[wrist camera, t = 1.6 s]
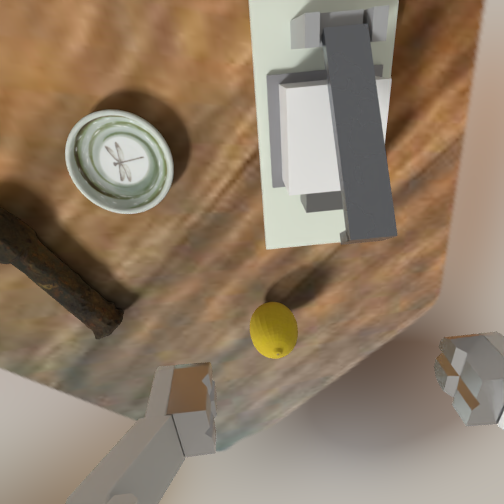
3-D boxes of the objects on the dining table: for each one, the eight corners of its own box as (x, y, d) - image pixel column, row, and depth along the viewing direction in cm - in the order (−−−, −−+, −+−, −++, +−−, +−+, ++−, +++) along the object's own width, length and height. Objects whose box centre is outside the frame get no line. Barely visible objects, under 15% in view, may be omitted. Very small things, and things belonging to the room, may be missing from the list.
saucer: (194, 181, 35) (192, 189, 33) (115, 219, 37) (108, 229, 35) (140, 86, 31) (134, 89, 29) (52, 135, 32) (40, 140, 30)
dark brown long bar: (129, 309, 43) (119, 335, 39) (104, 322, 44) (92, 349, 40) (4, 183, 35) (-25, 199, 31) (-24, 202, 35) (-57, 221, 31)
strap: (316, 51, 26) (323, 27, 23) (356, 47, 26) (367, 23, 23) (340, 244, 24) (350, 240, 22) (383, 240, 24) (397, 235, 22)
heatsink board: (247, -20, 27) (252, -42, 21) (397, -34, 28) (446, -60, 21) (265, 245, 39) (272, 281, 33) (370, 234, 40) (396, 268, 33)
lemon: (254, 327, 45) (258, 377, 39) (243, 295, 43) (246, 342, 36) (295, 318, 45) (307, 366, 38) (287, 284, 42) (298, 329, 35)
